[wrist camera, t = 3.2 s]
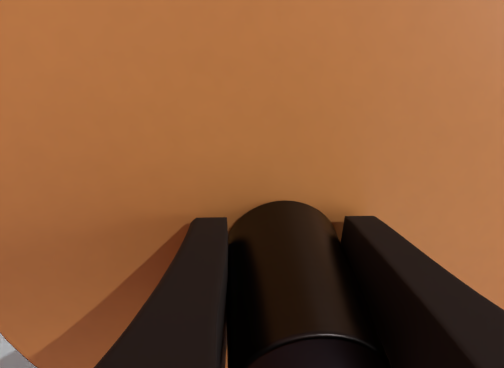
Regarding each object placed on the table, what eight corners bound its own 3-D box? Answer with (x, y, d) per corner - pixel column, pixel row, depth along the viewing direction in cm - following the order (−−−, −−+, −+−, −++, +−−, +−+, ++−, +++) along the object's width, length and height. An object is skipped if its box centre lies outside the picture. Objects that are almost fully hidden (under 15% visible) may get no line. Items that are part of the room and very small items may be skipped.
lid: (470, 392, 14) (573, 572, 10) (37, 411, 13) (-44, 620, 9) (683, -112, 8) (1209, -175, 4) (-147, -155, 7) (-724, -311, 3)
